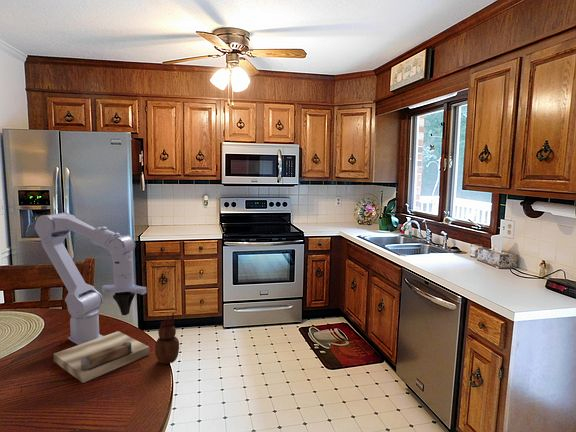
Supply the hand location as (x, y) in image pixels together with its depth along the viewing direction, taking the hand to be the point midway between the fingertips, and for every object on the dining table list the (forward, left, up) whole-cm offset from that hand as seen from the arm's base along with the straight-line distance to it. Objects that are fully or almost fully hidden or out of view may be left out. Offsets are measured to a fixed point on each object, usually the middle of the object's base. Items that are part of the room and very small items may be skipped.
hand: (125, 314), depth 120 cm
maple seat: (+3, -9, -10) cm, 14 cm away
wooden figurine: (+20, +2, -11) cm, 22 cm away
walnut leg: (+10, -11, -8) cm, 17 cm away
